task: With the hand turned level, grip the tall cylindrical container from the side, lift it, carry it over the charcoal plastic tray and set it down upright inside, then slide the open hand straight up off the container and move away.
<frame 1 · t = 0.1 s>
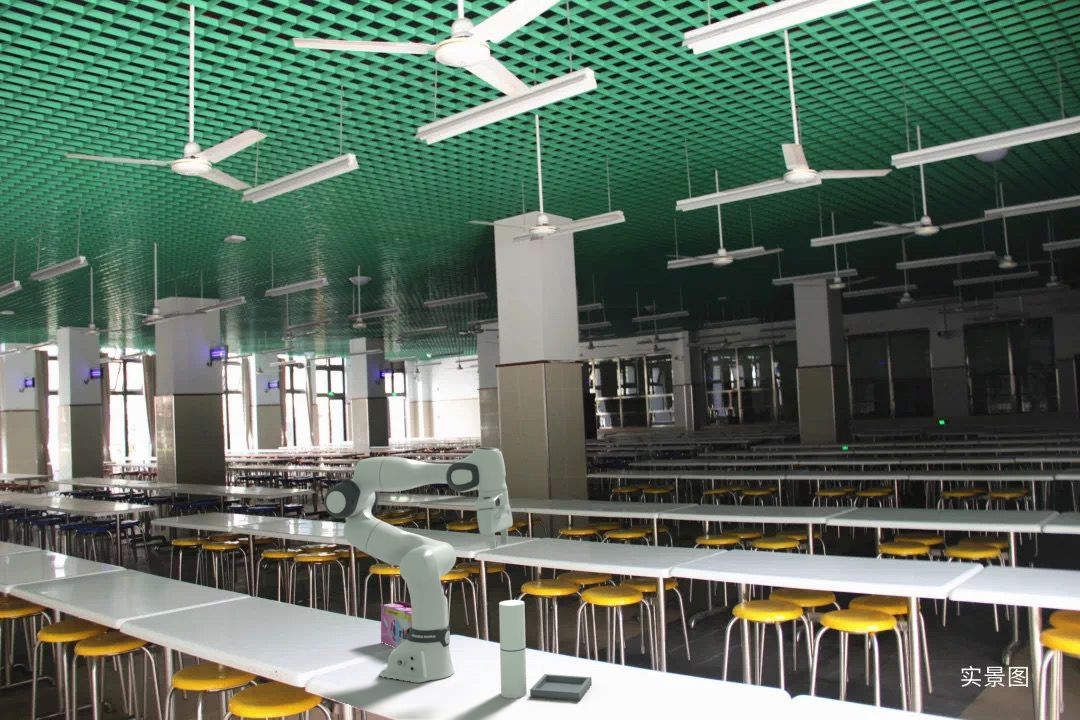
hand: (499, 546, 245), 39 cm above the table, tool pointing down, fingers open, 8 cm apart
pink product box: (406, 648, 280), on the table
cylindrical container: (513, 694, 228), on the table
tray: (561, 691, 229), on the table
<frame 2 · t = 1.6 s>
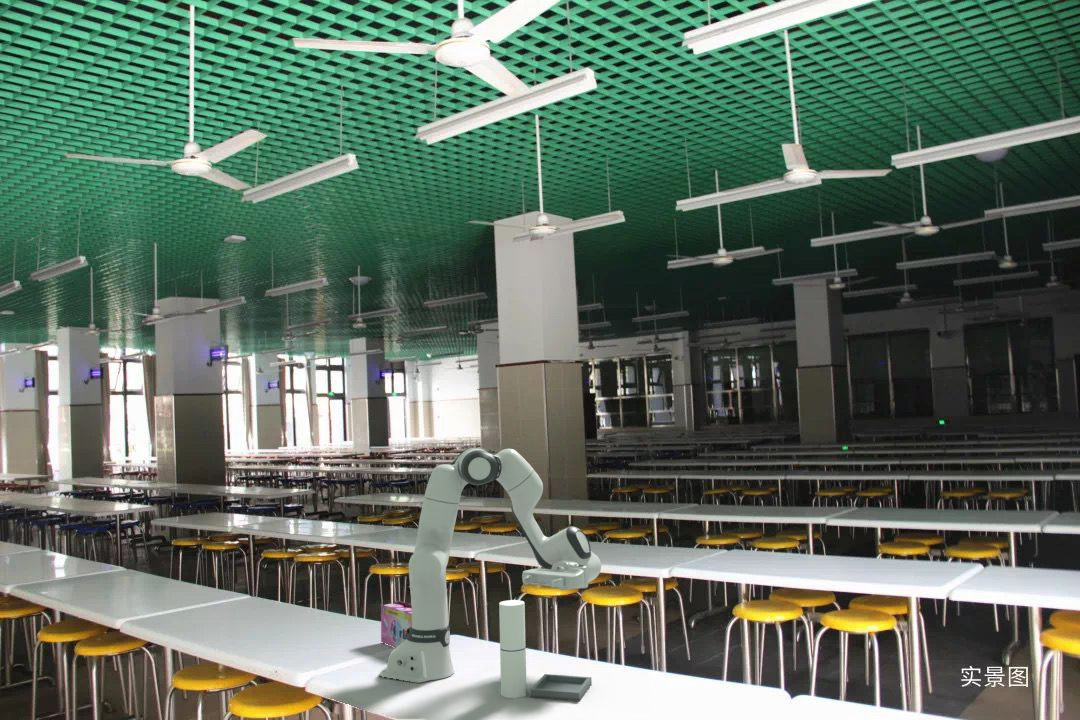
hand: (537, 583, 240), 28 cm above the table, tool horizontal, fingers open, 8 cm apart
nothing on the table moved.
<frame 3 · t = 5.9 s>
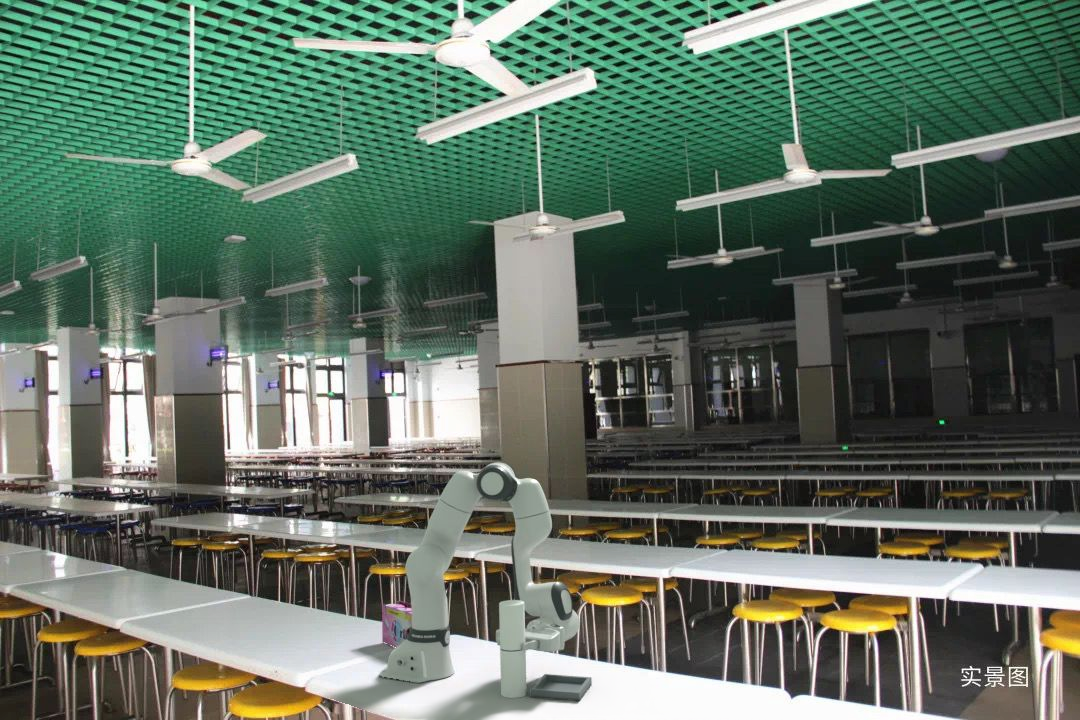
hand: (510, 645, 229), 14 cm above the table, tool horizontal, fingers closed on cylindrical container, 7 cm apart
cylindrical container: (513, 694, 228), on the table, touching gripper
everything else where it was.
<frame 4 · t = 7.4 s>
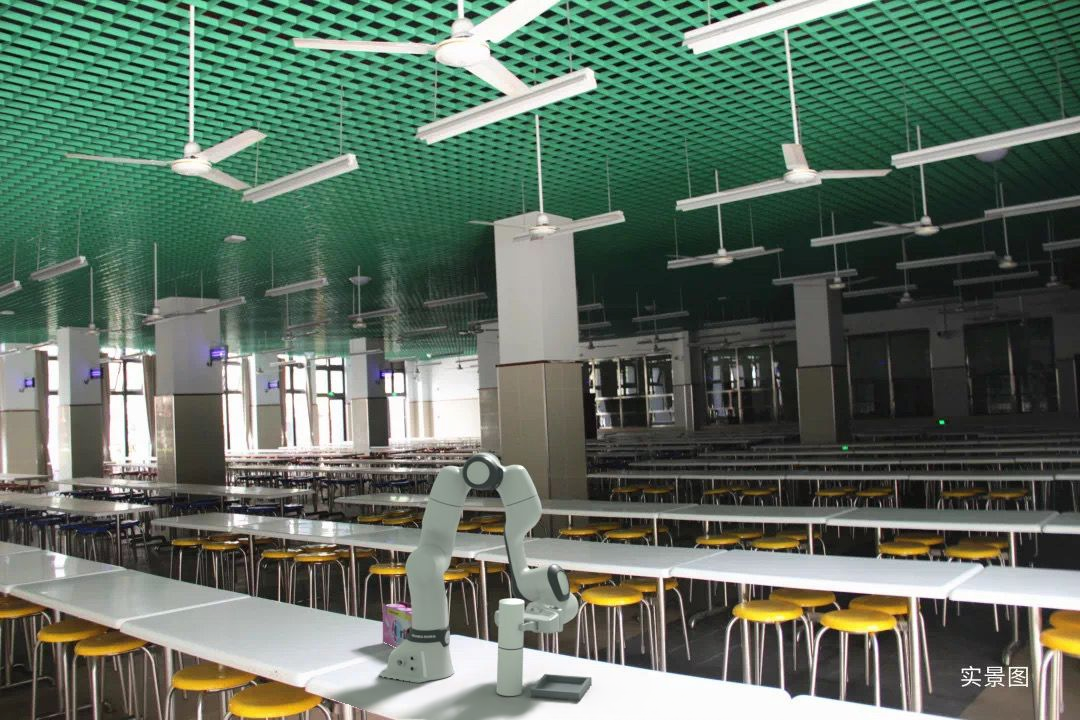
hand: (509, 625, 229), 19 cm above the table, tool horizontal, fingers closed on cylindrical container, 7 cm apart
cylindrical container: (509, 692, 229), on the table, touching gripper
everything else where it was.
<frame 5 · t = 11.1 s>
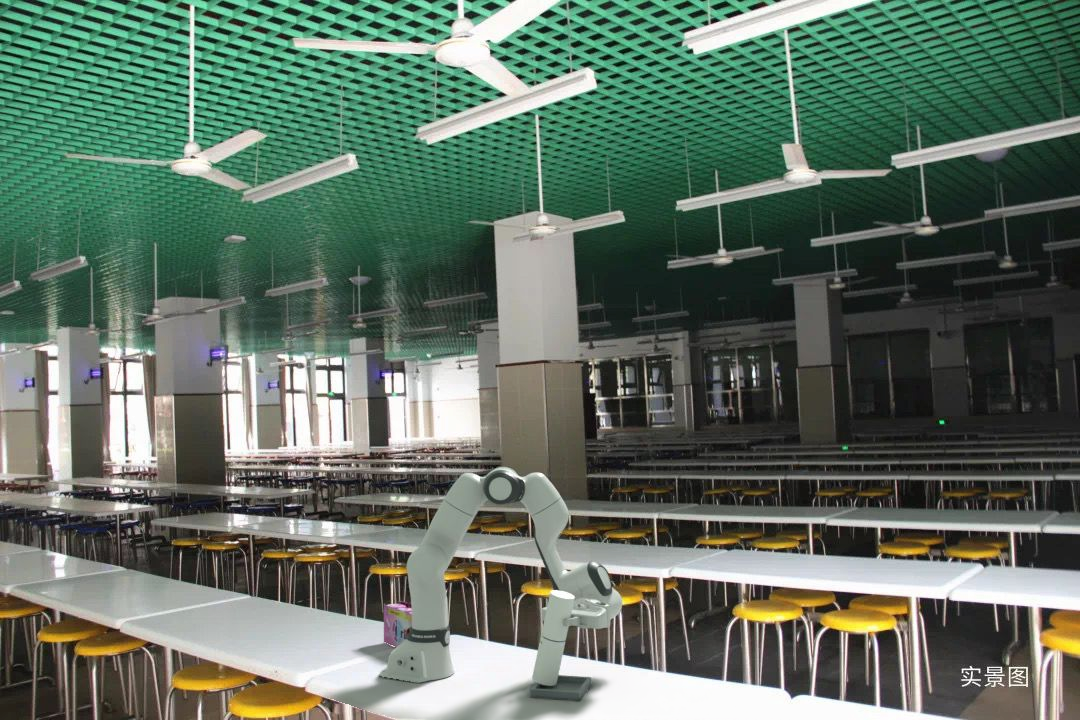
hand: (558, 622, 230), 19 cm above the table, tool horizontal, fingers closed on cylindrical container, 3 cm apart
cylindrical container: (544, 680, 233), point 2 cm above the table, touching gripper, tray
everything else where it was.
when the fingers open (19 cm above the table, at t = 11.3 s): cylindrical container moves 3 cm, resting on tray.
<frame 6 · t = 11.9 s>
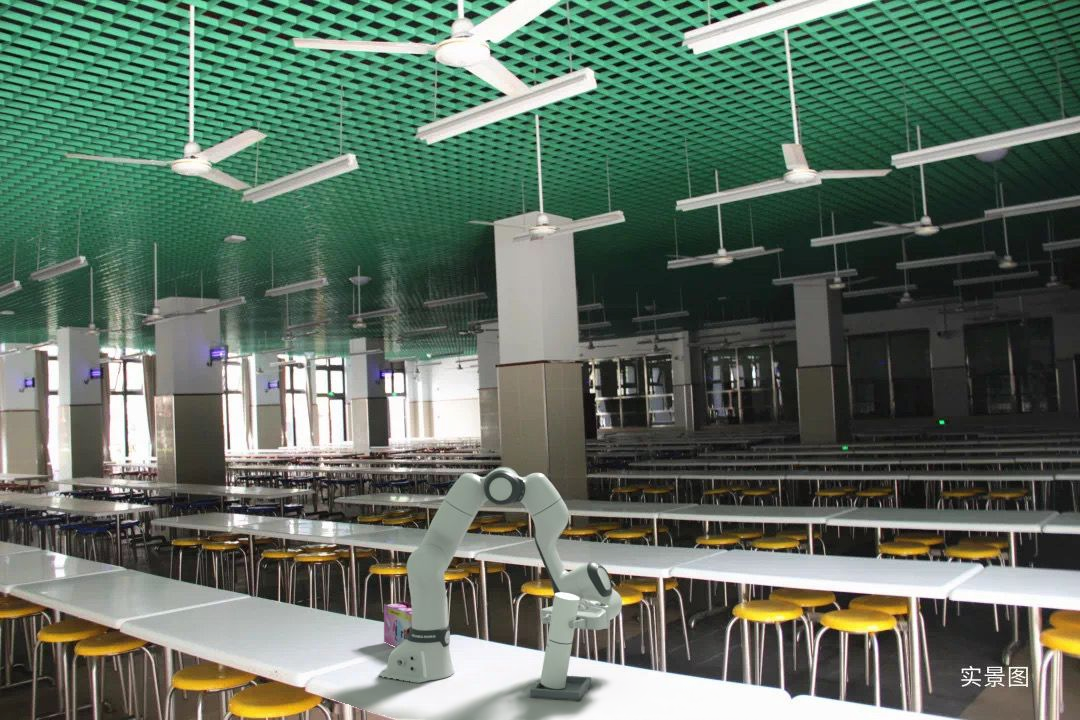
hand: (557, 623, 230), 19 cm above the table, tool horizontal, fingers open, 8 cm apart
cylindrical container: (552, 684, 231), point 1 cm above the table, touching gripper, tray
everything else where it was.
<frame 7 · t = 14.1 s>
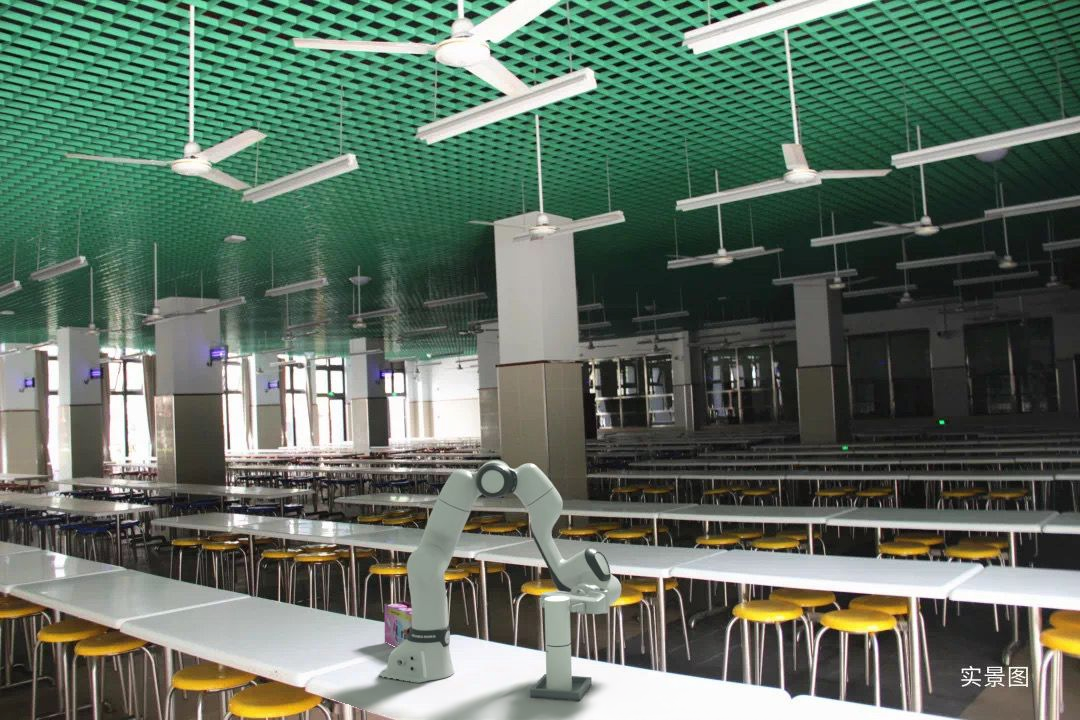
hand: (557, 607, 230), 23 cm above the table, tool horizontal, fingers open, 8 cm apart
cylindrical container: (559, 689, 229), resting on tray
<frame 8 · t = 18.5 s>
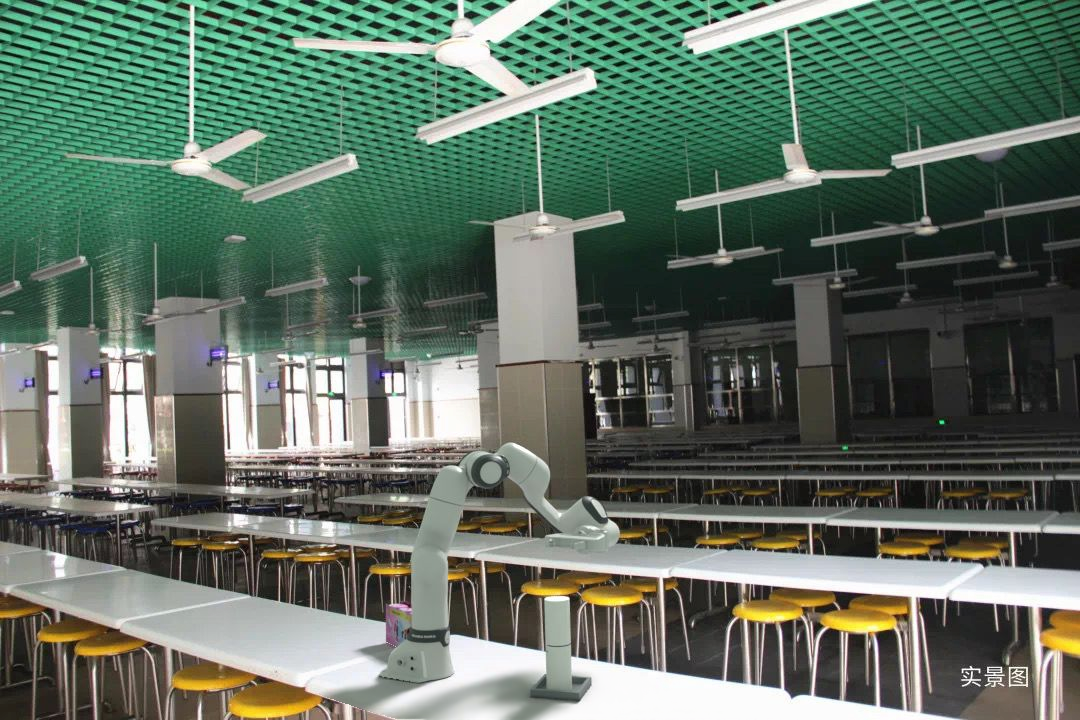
hand: (560, 545, 249), 38 cm above the table, tool horizontal, fingers open, 8 cm apart
at the end: cylindrical container inside the target area on the tray (0.6 cm from its centre), point 0.4 cm above the tray's base; cylindrical container tilted 0°; the gripper is holding nothing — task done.
